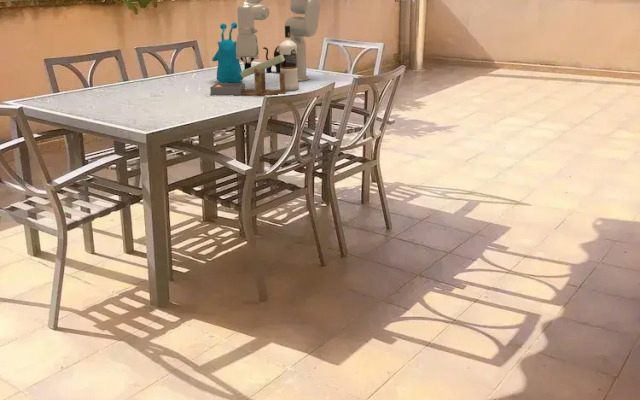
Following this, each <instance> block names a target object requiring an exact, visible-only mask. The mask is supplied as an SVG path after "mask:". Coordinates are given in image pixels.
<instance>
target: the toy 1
mask: <svg viewBox="0 0 640 400" xmlns="http://www.w3.org/2000/svg"><path fill="white" fill-rule="evenodd" d="M219 27H220V29H221V30H222V32H221V34H220V35H221V41H217V45H218V50H217V51H216V53H215V55H214V56H213V57H212V58H211V61H212V62H217V70H216V81H218V83H240V82H241V81H243V79H244V78H242V77H241V74H240V72H242V71H243V70H242V67H241V63H240V59H237V58H236V56H237V55H236V41H235V40H233V39H232V32H233V29H235V30H236V29H238V22H235V21H233V22H231V27H230V30H229V34H228V39H227V38H226V39H225V30H226V29H227V24H226V23H221V24H220V25H219Z"/></svg>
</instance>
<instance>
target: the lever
mask: <svg viewBox="0 0 640 400" xmlns="http://www.w3.org/2000/svg"><path fill="white" fill-rule="evenodd" d="M268 59H269V60H265V61H263V62H259V63H258V64H256V65H251V67H250V68H248V69H245V68H244V69H243V70H242V72H240V74H241V77H242V78H243V79H245V78H246V77H249V76H251V75H254V68H261V74H262V73H264V71H263V70H264V69H265V70H266V68H268V67H271V66H272V67H274V66H273V65H276V64H278V63H281V62H283V61H284V60H285V58H284V56H283V54H281V55H279V56H277V57H274V56H273V57H272V58H268Z"/></svg>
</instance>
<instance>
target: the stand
mask: <svg viewBox="0 0 640 400" xmlns="http://www.w3.org/2000/svg"><path fill="white" fill-rule="evenodd" d="M263 71H264V73H262V74H261V68H254V74H253V75H254V88H253V89H251V88H250V89H249V88H247V89H246V88H245V91H244V92H243V93H242V94H241V97H251V96H252V97H266V96H265V95H278V94H284V95H285V94H286V93H287V92H288V91H287V89H285V73H279V89H276V88H275V89H267V88H266V87H267V86H266V69H264V70H263Z"/></svg>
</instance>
